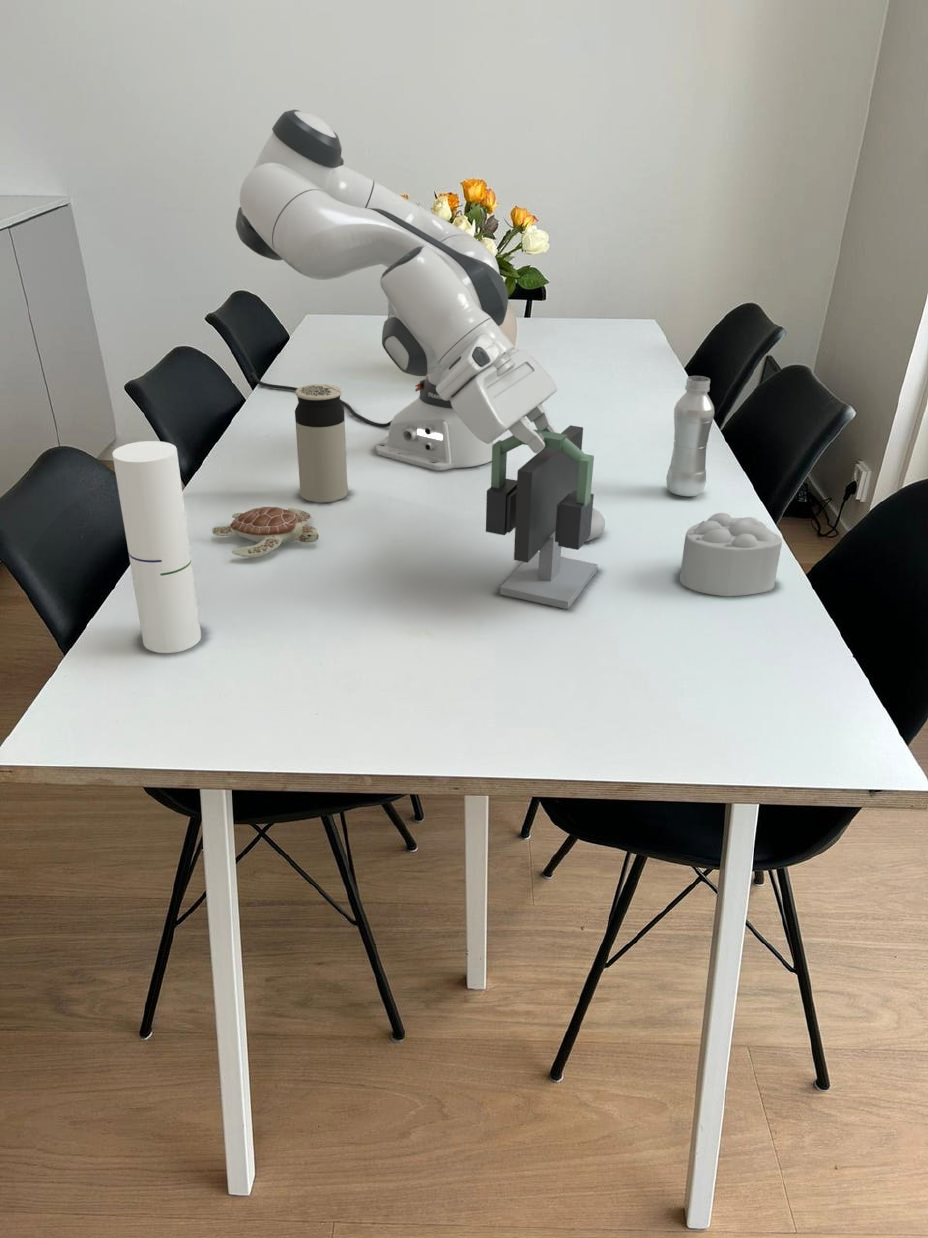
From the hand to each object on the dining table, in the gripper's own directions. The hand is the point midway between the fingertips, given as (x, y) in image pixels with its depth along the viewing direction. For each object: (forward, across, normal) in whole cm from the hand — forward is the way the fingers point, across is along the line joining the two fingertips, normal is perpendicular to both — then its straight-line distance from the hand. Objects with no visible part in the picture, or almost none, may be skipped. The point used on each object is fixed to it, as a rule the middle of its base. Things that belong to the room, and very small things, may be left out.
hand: (547, 444), depth 130 cm
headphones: (+8, 0, -9) cm, 13 cm away
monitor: (+15, -4, -16) cm, 22 cm away
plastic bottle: (+22, -46, -9) cm, 52 cm away
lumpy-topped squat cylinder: (+31, -16, 0) cm, 35 cm away
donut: (+14, -22, -17) cm, 31 cm away
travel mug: (-17, -18, -48) cm, 54 cm away
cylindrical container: (-11, +32, -42) cm, 54 cm away
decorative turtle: (-15, +1, -46) cm, 49 cm away
